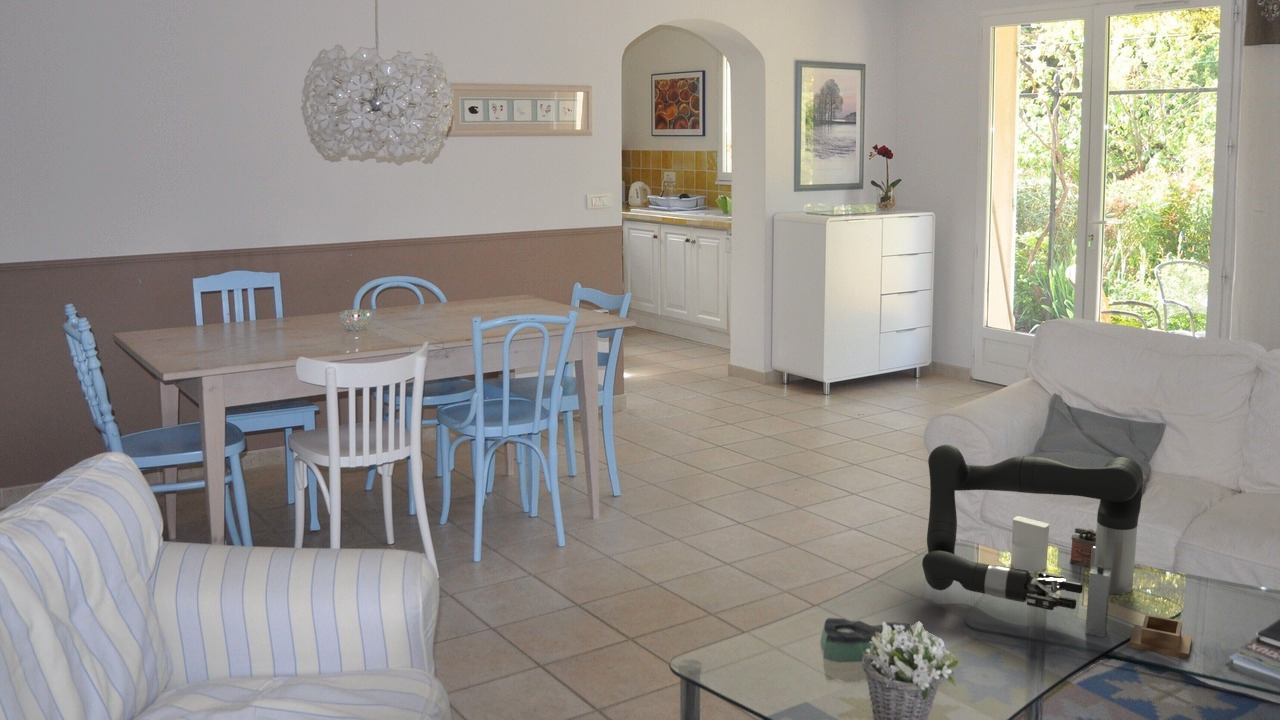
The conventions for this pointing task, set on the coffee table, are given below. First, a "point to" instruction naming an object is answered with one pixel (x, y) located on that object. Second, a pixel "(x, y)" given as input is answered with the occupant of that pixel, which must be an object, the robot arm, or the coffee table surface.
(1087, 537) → the lighter
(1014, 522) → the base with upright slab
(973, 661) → the coffee table surface
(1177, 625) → the brown open box stand
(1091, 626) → the tall gray rectangular post
